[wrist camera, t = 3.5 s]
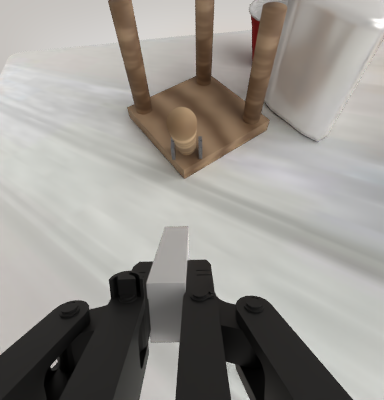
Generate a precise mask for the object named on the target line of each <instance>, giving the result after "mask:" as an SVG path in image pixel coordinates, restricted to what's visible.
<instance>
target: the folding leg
mask: <svg viewBox="0 0 384 400" xmlns="http://www.w3.org/2000/svg"><path fill="white" fill-rule="evenodd" d="M166 125H167V128H168V131H169V133H170V135H171V137H172V139H173V141H174V143H175V145H176V147H177V149H178V151H179V152H180V153H181V154H182V155H186V156H187V155H191V154H192V153H194V151H195V149H196V136H197V119H196V116H195V114H194V113H193V112H192V111H191V110H190V109H188V108H186V107H178V108H175V109H173V110H172V111H171V112H170V113H169V115H168V117H167V121H166Z"/></svg>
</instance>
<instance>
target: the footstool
mask: <svg viewBox="0 0 384 400" xmlns="http://www.w3.org/2000/svg"><path fill="white" fill-rule="evenodd" d="M108 3H109V7H110V11H111V15H112V18H113V22H114V26H115V30H116V34H117V38H118V42H119V46H120V50H121V53H122V57H123V61H124V65H125V69H126V73H127V77H128V81H129V84H130V88H131V92H132V96H133V100H134V105H132V106H130V107H127V109H128V112H129V116H130V118H131V119H132V120H133V121H134V122H135V124H136V125H137V126H138V127H139V128H140V129H141V130H142V132H143V133H144V134H145V135H146V136H147V137H148V138H149V139H150V141H151V142H152V143H153V144H154V145H155V146H156V147H157V148H158V150H159V151H160V152H161V153H162V154H163V155H164V156H165V157H166V159H167V160H168V161H169V162H170V163H171V164H172V165H173V166H174V168H175V169H176V170H177V171H178V172H179V173H180V174H181V175H182V177H183V178H184V179H185V178H187V177H188V176H190V175H192V174H194V173H195V172H197V171H199V170H200V169H202V168H204V167H205V166H207V165H209V164H210V163H212V162H214V161H215V160H217V159H219V158H220V157H222V156H224V155H226V154H227V153H229V152H231V151H232V150H234V149H236V148H237V147H239V146H241V145H242V144H244V143H246V142H247V141H249V140H251V139H252V138H254V137H256V136H257V135H259V134H261V133H263V132H264V131H266V130H267V127H268V124H269V121H270V120H269V119H268V118H266V117H265V116H264V115H262V114H261V111H262V107H263V103H264V99H265V95H266V91H267V87H268V83H269V79H270V75H271V72H272V68H273V64H274V60H275V56H276V52H277V48H278V44H279V40H280V36H281V32H282V28H283V24H284V20H285V16H286V12H287V6H286V5H285V4H283V3H280V2H268V3H265V4H264V5H263V7H262V12H261V18H260V24H259V29H258V35H257V40H256V46H255V51H254V57H253V62H252V68H251V73H250V79H249V85H248V90H247V96H246V101H244V100H243V99H241V98H240V97H239V96H237V95H236V94H235V93H233V92H232V91H231V90H229V89H228V88H227V87H225V86H224V85H223V84H221V83H220V82H219V81H217V80H216V79H215V78H213V77H212V76H211V68H212V44H213V20H214V0H195V7H196V8H195V10H196V11H195V12H196V13H195V15H196V76H195V77H193V78H191V79H189V80H186V81H184V82H182V83H180V84H178V85H175V86H173V87H171V88H169V89H167V90H165V91H162V92H160V93H158V94H156V95H154V96H151V97H150V95H149V89H148V84H147V79H146V74H145V69H144V63H143V58H142V53H141V48H140V42H139V37H138V32H137V27H136V21H135V16H134V11H133V6H132V0H109V1H108ZM178 107H186V108H188V109H190V110H191V111H192V112H193V113H194V114H195V116H196V119H197V136H196V149H195V151H194V153H192V154H191V155H187V156H186V155H182V154H181V153H180V152H179V151H178V149H177V147H176V160H172V155H171V135H170V133H169V131H168V128H167V125H166V121H167V117H168V115H169V113H170V112H171V111H172V110H173V109H175V108H178ZM198 136H202V159H199V151H198ZM175 146H176V145H175Z"/></svg>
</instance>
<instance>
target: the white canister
mask: <svg viewBox="0 0 384 400" xmlns="http://www.w3.org/2000/svg"><path fill="white" fill-rule="evenodd" d="M383 39H384V0H288V3H287V12H286V16H285V20H284V24H283V28H282V32H281V36H280V40H279V44H278V48H277V52H276V56H275V60H274V64H273V68H272V72H271V75H270V79H269V83H268V87H267V91H266V95H265V99H264V101H265V103H266V104H267V105H268V107H269V108H270V109H271V110H272V111H273V112H275V113H276V114H277V115H278V116H280V117H281V118H282V119H284V120H285V121H286V122H287V123H289V124H290V125H291V126H292V127H294V128H295V129H296V130H298V131H299V132H300V133H301V134H303V135H305V136H307V137H309V138H311V139H313V140H315V141H317V142H319V141H320V140H322V139H324V138H325V137H327V136H328V134H329V132H330V131H331V129H332V127H333V125H334V124H335V122H336V120H337V119H338V117H339V115H340V113H341V112H342V110H343V108H344V106H345V105H346V103H347V101H348V100H349V98H350V96H351V94H352V93H353V91H354V89H355V87H356V86H357V84H358V82H359V81H360V79H361V77H362V75H363V74H364V72H365V70H366V68H367V67H368V65H369V63H370V62H371V60H372V58H373V56H374V55H375V53H376V51H377V50H378V48H379V46H380V44H381V43H382V41H383Z"/></svg>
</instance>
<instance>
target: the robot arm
mask: <svg viewBox="0 0 384 400" xmlns="http://www.w3.org/2000/svg"><path fill="white" fill-rule="evenodd" d="M109 284H110V293H111V300H110V302H109V303H108V305H106V306H102V307H99V308H94V309H90V310H89V305H88V304H87V302H84V301H81V300H75V301H69V302H67V303H64V304H62V305H60V306H58V307H57V308H55V309H54V310H53V311H52V312H51V313H49V314H48V315H47V316H46V317H45V318H44V319H42V320H41V321H40V322H39V323H38V324H36V325H35V326H34V327H33V328H32V329H31V330H29V331H28V332H27V333H26V334H25V335H23V336H22V337H21V338H20V339H19V340H18V341H16V342H15V343H14V344H13V345H12V346H10V347H9V348H8V349H7V350H6V351H5V352H3V353H2V354H1V355H0V400H139V398H140V393H141V388H142V384H143V379H144V374H145V369H146V364H147V359H148V355H149V347H148V340H149V336H150V339H151V343H162V342H180V345H179V359H178V372H177V386H176V400H231V396H230V389H229V382H228V375H227V367H226V362H230V363H233V364H235V366H236V370H237V372H238V374H239V377H240V379H241V381H242V383H243V385H244V387H245V390H246V392H247V394H248V396H249V398H250V400H353V399H352V398H351V397H350V396H349V394H348V393H347V392H346V391H345V390H344V389H343V387H342V386H341V385H340V384H339V383H338V382H337V381H336V379H335V378H334V377H333V376H332V375H331V374H330V372H329V371H328V370H327V369H326V368H325V367H324V365H323V364H322V363H321V362H320V361H319V360H318V358H317V357H316V356H315V355H314V354H313V353H312V351H311V350H310V349H309V348H308V347H307V346H306V344H305V343H304V342H303V341H302V340H301V339H300V337H299V336H298V335H297V334H296V333H295V332H294V330H293V329H292V328H291V327H290V326H289V325H288V323H287V322H286V321H285V320H284V319H283V318H282V317H281V315H280V314H279V313H278V312H277V311H276V310H275V308H274V307H273V306H272V305H271V304H270V303H269V302H268V301H267V300H265V299H263V298H261V297H257V296H245V297H242V298H240V299H239V300H238V301H237V302H236V305H235V304H230V303H227V302H224V301H222V300H220V299H219V298H218V297H217V296H216V294H215V292H214V285H213V278H212V271H211V264H210V263H209V262H208V261H207V260H189V233H188V226H182V227H165V228H164V231H163V234H162V237H161V240H160V243H159V246H158V249H157V252H156V255H155V258H154V261H153V262H139V263H138V264H136V265H135V266H134V267H133V269H132V271H124V272H120V273H117V274H115V275H114V276H112V277H111V278H110V279H109ZM56 359H57V361H58V363H57V364H56V365H55V366H54V367H53V368H50V366H51V365H52V363H53V362H54V361H55V360H56Z"/></svg>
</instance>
